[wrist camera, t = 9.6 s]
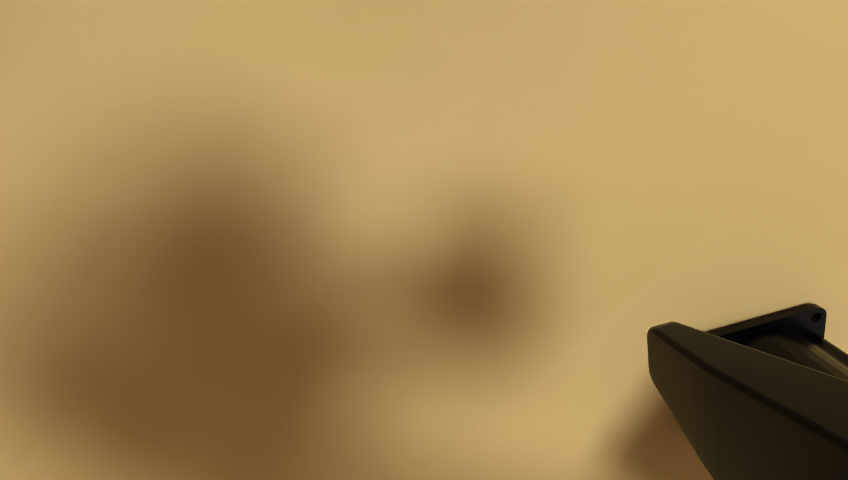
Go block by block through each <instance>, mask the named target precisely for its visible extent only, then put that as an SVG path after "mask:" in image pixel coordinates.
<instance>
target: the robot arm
mask: <svg viewBox="0 0 848 480" xmlns="http://www.w3.org/2000/svg"><path fill="white" fill-rule="evenodd" d="M825 323H826V311H825V310H824V309H823V308H821V307H820V306H818V305H816V304H809V305H805V306H802V307H798V308H795V309H791V310H788V311H784V312H781V313H777V314H773V315H770V316H766V317H763V318H759V319H756V320H752V321H748V322H745V323H741V324H738V325H734V326H731V327H727V328H724V329H720V330H716V331H713V332H709V333H706V332H703V331H700V330H698V329H695V328H692V327H689V326H686V325H683V324H680V323H677V322H668V323H665V324H661V325H657V326H654V327H651V328H650V329H649V330H648V333H647V345H648V362H649V372H650V375H651V378H652V381H653V383H654V384H655V386H656V388H657V389H658V391H659V393H660V394H661V396H662V398H663V399H664V401H665V403H666V404H667V406H668V408H669V409H670V411H671V412H672V414H673V416H674V417H675V419H676V421H677V422H678V424H679V426H680V427H681V429H682V431H683V432H684V434H685V436H686V437H687V439H688V440H689V442H690V444H691V445H692V447H693V449H694V450H695V452H696V454H697V455H698V457H699V458H700V460H701V461H702V463H703V465H704V466H705V467H706V469H707V470H708V472H709V473H710V474H711V476H712V477H713V479H714V480H848V354H846V353H845V352H843V351H842V350H840V349H839V348H837V347H836V346H834V345H833V344H831V343H830V342H828V341H827V340H825V339H824V332H825Z"/></svg>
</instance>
